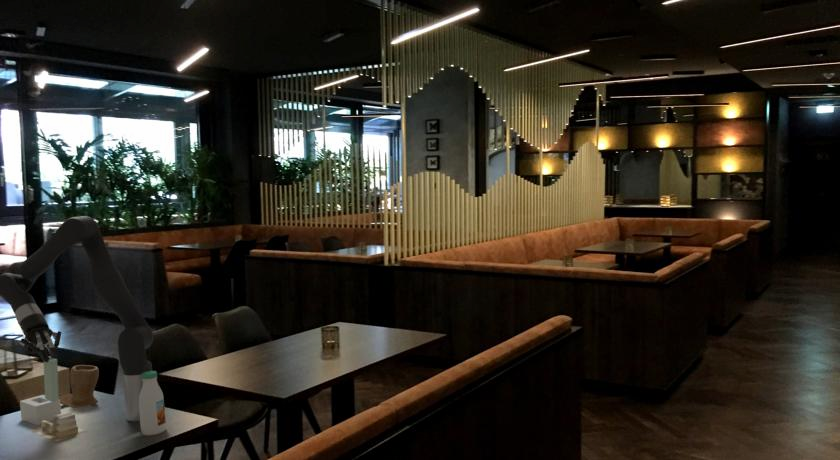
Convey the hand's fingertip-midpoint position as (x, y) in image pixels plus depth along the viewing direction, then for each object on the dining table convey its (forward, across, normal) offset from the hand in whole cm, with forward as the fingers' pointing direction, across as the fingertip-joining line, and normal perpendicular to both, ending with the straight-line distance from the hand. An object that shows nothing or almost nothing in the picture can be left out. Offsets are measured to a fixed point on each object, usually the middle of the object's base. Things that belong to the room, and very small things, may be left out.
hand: (51, 359), depth 219 cm
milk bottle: (+37, +18, -1) cm, 41 cm away
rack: (+18, 0, +18) cm, 25 cm away
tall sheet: (+8, 0, +11) cm, 14 cm away
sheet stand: (+5, +3, +31) cm, 31 cm away
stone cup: (+1, +21, +36) cm, 41 cm away
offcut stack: (+21, 0, +13) cm, 24 cm away
